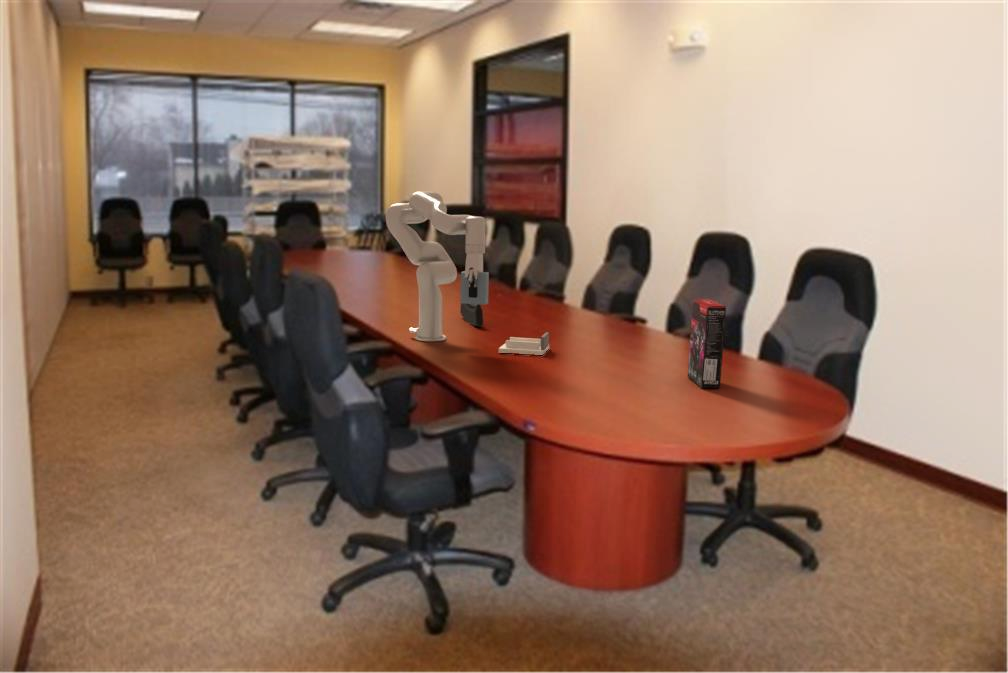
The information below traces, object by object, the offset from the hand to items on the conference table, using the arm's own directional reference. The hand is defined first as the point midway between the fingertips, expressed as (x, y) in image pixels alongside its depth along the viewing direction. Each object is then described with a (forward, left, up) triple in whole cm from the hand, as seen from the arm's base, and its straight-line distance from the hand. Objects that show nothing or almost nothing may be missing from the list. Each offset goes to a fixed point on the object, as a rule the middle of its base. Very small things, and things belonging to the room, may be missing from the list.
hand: (474, 295), depth 344 cm
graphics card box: (+88, -34, -21) cm, 97 cm away
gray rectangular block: (0, 0, -3) cm, 3 cm away
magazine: (-17, +57, -21) cm, 63 cm away
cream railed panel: (+20, 0, -21) cm, 29 cm away
